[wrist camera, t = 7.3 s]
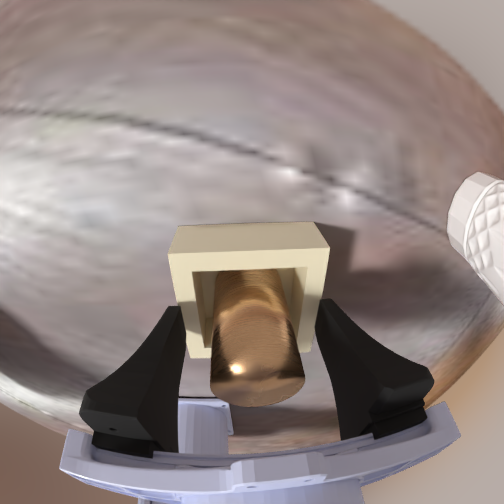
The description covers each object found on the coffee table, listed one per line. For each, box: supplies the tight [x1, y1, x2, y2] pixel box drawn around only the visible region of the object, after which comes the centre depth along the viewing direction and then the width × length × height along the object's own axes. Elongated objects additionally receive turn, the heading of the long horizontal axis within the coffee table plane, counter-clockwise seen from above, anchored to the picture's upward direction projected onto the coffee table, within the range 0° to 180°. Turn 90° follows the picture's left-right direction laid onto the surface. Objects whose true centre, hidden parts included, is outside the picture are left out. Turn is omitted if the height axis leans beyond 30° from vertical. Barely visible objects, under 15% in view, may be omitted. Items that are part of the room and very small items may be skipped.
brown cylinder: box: [210, 268, 305, 407], centre depth 13 cm, size 4×4×7 cm
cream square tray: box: [168, 222, 330, 358], centre depth 15 cm, size 8×8×3 cm
